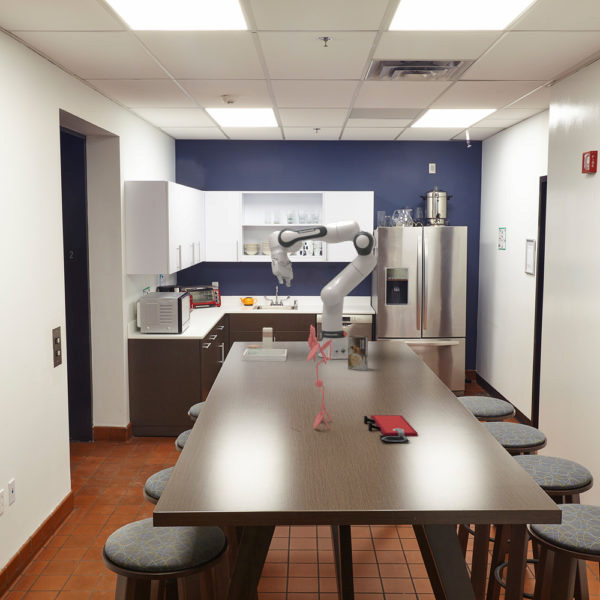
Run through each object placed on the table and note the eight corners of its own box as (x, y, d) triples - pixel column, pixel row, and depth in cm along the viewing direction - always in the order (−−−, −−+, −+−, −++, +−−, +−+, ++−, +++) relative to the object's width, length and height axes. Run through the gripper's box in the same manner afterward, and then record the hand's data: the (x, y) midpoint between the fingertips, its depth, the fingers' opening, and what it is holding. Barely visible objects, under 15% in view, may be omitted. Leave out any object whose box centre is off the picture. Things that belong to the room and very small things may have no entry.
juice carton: (272, 352, 364) (272, 327, 362) (271, 354, 359) (272, 329, 357) (263, 352, 364) (263, 327, 362) (262, 354, 359) (262, 329, 357)
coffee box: (368, 367, 325) (368, 335, 324) (365, 370, 319) (366, 337, 317) (350, 366, 328) (350, 334, 326) (347, 369, 322) (347, 336, 320)
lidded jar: (260, 357, 345) (260, 344, 345) (259, 359, 339) (259, 346, 338) (248, 357, 345) (248, 344, 345) (246, 359, 339) (246, 346, 338)
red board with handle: (377, 444, 208) (423, 444, 210) (377, 435, 208) (424, 435, 210) (360, 419, 238) (401, 419, 240) (361, 411, 238) (401, 411, 239)
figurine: (335, 414, 241) (334, 320, 238) (329, 436, 216) (328, 331, 212) (294, 413, 243) (292, 320, 240) (283, 435, 218) (281, 330, 214)
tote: (287, 356, 353) (287, 349, 353) (285, 363, 335) (285, 355, 335) (246, 356, 353) (246, 348, 353) (242, 362, 335) (242, 355, 335)
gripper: (277, 255, 345) (282, 280, 342) (292, 262, 364) (297, 286, 361) (267, 258, 347) (271, 283, 344) (282, 266, 366) (287, 289, 363)
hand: (285, 285), depth 352 cm, fingers open, 8 cm apart
